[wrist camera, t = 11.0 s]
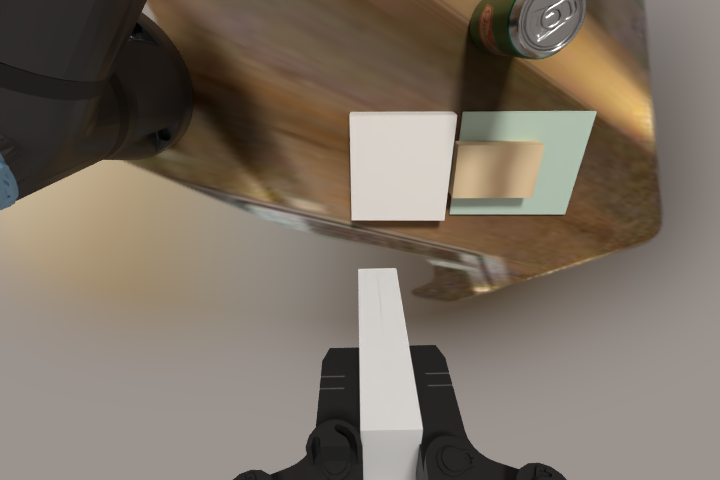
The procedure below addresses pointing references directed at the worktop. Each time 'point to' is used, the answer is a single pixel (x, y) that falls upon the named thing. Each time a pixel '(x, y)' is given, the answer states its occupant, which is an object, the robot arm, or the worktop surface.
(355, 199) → the white flat square block
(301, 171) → the worktop surface
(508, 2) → the soda can
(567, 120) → the mat
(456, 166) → the tan flat block
